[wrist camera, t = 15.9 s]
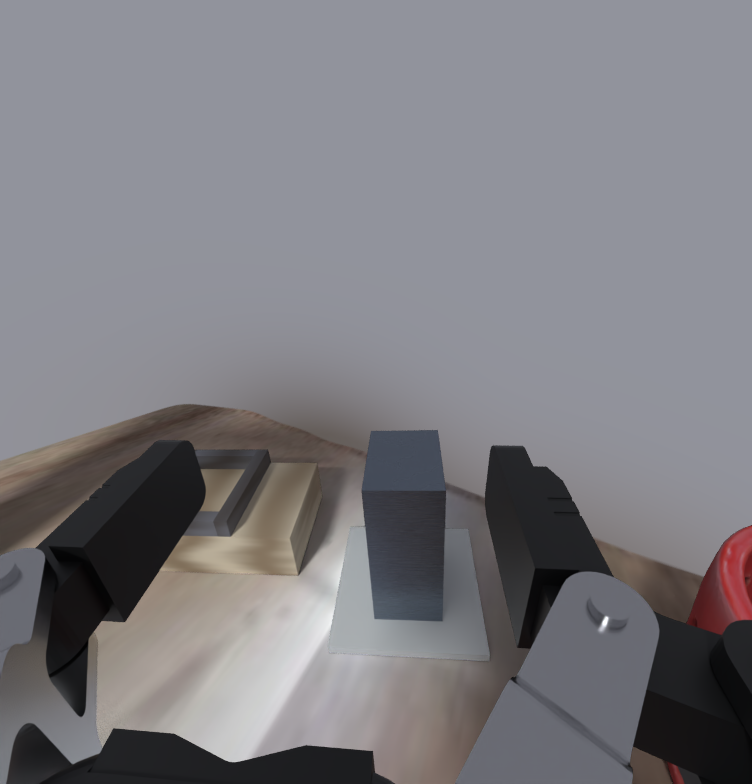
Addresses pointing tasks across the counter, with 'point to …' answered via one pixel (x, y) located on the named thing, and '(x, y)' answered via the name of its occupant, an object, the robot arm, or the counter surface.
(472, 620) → the rubber mat
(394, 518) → the brushed metal block
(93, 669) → the robot arm
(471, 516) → the counter surface
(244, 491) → the tan piece
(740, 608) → the plant pot
